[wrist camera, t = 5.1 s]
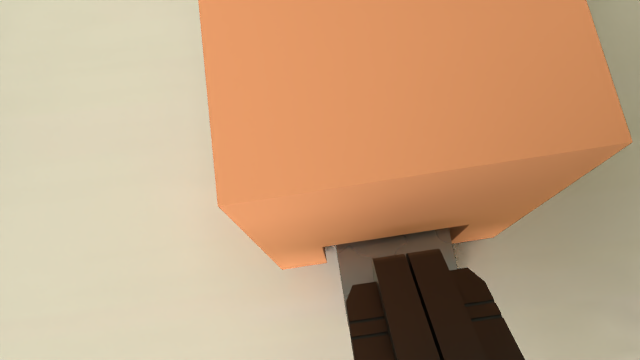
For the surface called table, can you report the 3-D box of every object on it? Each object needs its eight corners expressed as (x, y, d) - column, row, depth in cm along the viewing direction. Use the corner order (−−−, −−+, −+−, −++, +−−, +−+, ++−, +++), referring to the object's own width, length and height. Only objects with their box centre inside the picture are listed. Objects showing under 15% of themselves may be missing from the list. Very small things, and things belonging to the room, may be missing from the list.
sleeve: (493, 237, 17) (632, 141, 9) (282, 269, 17) (217, 205, 9) (464, 118, 18) (564, -68, 10) (266, 149, 18) (197, -10, 10)
